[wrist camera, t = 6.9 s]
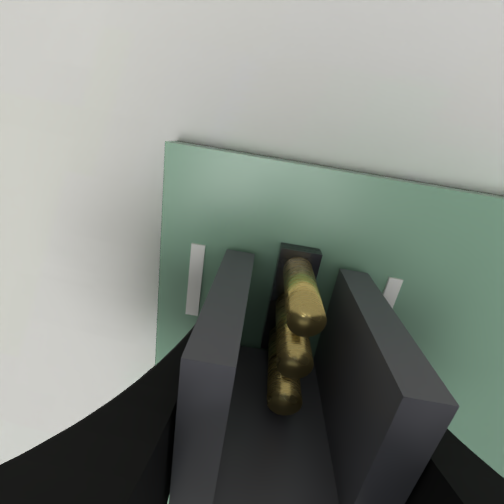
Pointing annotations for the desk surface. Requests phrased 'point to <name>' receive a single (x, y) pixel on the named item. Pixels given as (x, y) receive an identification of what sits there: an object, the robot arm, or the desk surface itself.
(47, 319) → the desk surface
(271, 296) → the pin header
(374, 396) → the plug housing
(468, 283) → the circuit board
